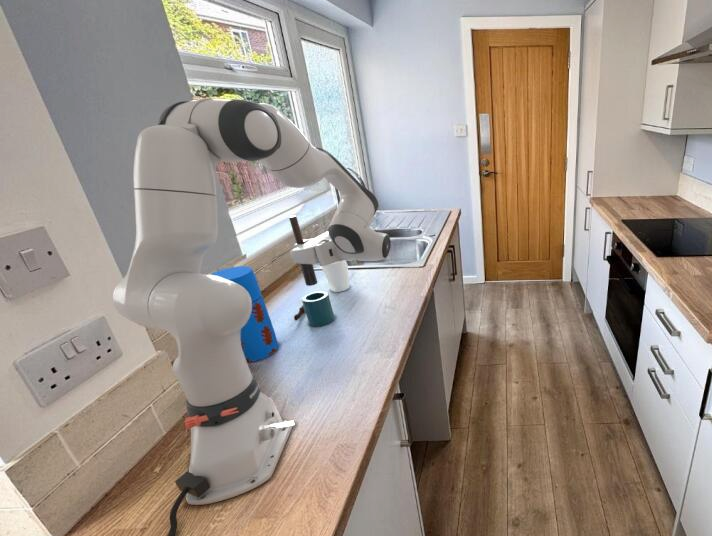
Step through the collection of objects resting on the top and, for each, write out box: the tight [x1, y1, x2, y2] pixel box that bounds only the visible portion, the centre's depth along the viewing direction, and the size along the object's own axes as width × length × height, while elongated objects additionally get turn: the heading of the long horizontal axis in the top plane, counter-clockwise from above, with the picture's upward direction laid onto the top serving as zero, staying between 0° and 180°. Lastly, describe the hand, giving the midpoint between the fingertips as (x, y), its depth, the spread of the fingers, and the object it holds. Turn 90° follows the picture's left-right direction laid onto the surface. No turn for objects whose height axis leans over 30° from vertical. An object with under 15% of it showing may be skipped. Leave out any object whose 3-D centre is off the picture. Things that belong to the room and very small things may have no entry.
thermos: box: [210, 265, 279, 363], centre depth 114 cm, size 11×11×25 cm
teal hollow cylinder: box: [301, 290, 335, 327], centre depth 133 cm, size 8×8×9 cm
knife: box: [293, 304, 306, 322], centre depth 140 cm, size 18×2×3 cm, turn 11°
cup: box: [321, 261, 350, 293], centre depth 155 cm, size 9×9×12 cm
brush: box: [288, 215, 319, 287], centre depth 124 cm, size 3×3×22 cm
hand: (298, 245), depth 123 cm, fingers closed on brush, 2 cm apart
